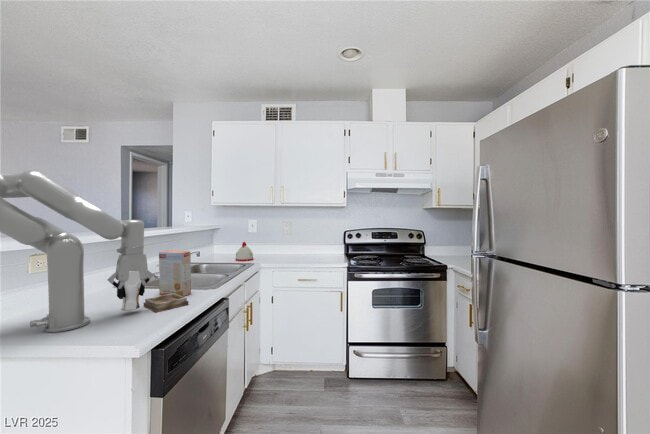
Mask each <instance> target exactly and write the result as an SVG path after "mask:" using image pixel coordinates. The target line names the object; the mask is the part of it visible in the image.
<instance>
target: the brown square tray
mask: <svg viewBox="0 0 650 434" xmlns="http://www.w3.org/2000/svg"><path fill="white" fill-rule="evenodd" d="M185 306H189V301H188V299H187V297H185V296H181V295H178V294H175V293H172V294H167V295H158V296H153V297H149V298H145V299H144V302H143V307H145V308H146V309H149V310H150V311H152V312H154V313H155V314H157V313H162V312H164V311H169V310H172V309H177V308H180V307H185Z"/></svg>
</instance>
